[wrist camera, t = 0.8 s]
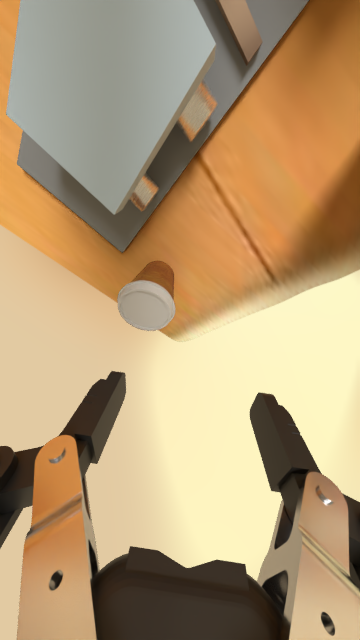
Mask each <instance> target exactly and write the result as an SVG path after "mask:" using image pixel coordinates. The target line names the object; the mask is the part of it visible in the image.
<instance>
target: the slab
mask: <svg viewBox="0 0 360 640" xmlns="http://www.w3.org/2000/svg"><path fill="white" fill-rule="evenodd" d="M215 49H216V43H215V41H214V39H213V37H212V35H211V33H210V31H209V29H208V27H207V25H206V23H205V21H204V20H203V18H202V16H201V14H200V12H199V10H198V8H197V6H196V4H195V2H194V0H21V1H20V9H19V17H18V25H17V32H16V40H15V48H14V56H13V64H12V72H11V80H10V87H9V95H8V103H7V111H6V115H7V116H8V117H9V118H10V119H12V120H13V121H14V122H15V123H16V124H17V125H18V126H19V127H20V128H21V129H22V130H23V131H24V132H26V133H27V134H28V135H29V136H30V137H31V138H32V139H33V140H34V141H35V142H36V143H37V144H38V145H40V146H41V147H42V148H43V149H44V150H45V151H46V152H47V153H48V154H49V155H50V156H51V157H52V158H54V159H55V160H56V161H57V162H58V163H59V164H60V165H61V166H62V167H63V168H64V169H65V170H66V171H68V172H69V173H70V174H71V175H72V176H73V177H74V178H75V179H76V180H77V181H78V182H79V183H80V184H81V185H83V186H84V187H85V188H86V189H87V190H88V191H89V192H90V193H91V194H92V195H93V196H94V197H95V198H97V199H98V200H99V201H100V202H101V203H102V204H103V205H104V206H105V207H106V208H107V209H108V210H109V211H111V212H112V213H113V214H114V215H115V214H116V213H118V212H120V211H121V210H123V208H124V206H125V205H126V203H127V201H128V200H129V198H130V197H131V195H132V193H133V192H134V190H135V188H136V187H137V185H138V184H139V182H140V180H141V179H142V177H143V176H144V174H145V172H146V171H147V169H148V167H149V166H150V164H151V163H152V161H153V159H154V158H155V156H156V154H157V153H158V151H159V150H160V148H161V146H162V145H163V143H164V141H165V140H166V138H167V137H168V135H169V133H170V132H171V130H172V128H173V127H174V125H175V124H176V122H177V120H178V119H179V117H180V115H181V114H182V112H183V111H184V109H185V107H186V106H187V104H188V103H189V101H190V99H191V98H192V96H193V94H194V93H195V91H196V90H197V88H198V86H199V85H200V83H201V81H202V80H203V78H204V77H205V75H206V73H207V72H208V70H209V68H210V67H211V65H212V64H213V62H214V60H215Z"/></svg>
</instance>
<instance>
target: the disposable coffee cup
mask: <svg viewBox="0 0 360 640" xmlns="http://www.w3.org/2000/svg"><path fill="white" fill-rule="evenodd" d="M173 292H174V273H173V271H172V269H171V268H170V266H169V265H167V264H166V263H164V262H161V261H154V262H151V263H149V264H148V265H147V266H146V267H145V268H144V269H143V270H142V271H141V272H140V273H139V274H138V275H137V276H136V278H135V279H134V280H133V281H132V282H131V283H129V284H127V285H125V286H124V287H123V288H122V289H121V290H120V292H119V294H118V310H119V312H120V315H121V316H122V317H123V318H124V320H125V321H126V322H127V323H129V324H130V325H132V326H134V327H136V328H138V329H141V330H147V331H155V330H159V329H162V328H163V327H165V326H166V325H167V324H168V323H169V322H170V321H171V320H172V319H173V317H174V314H175V304H174V301H173Z"/></svg>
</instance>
